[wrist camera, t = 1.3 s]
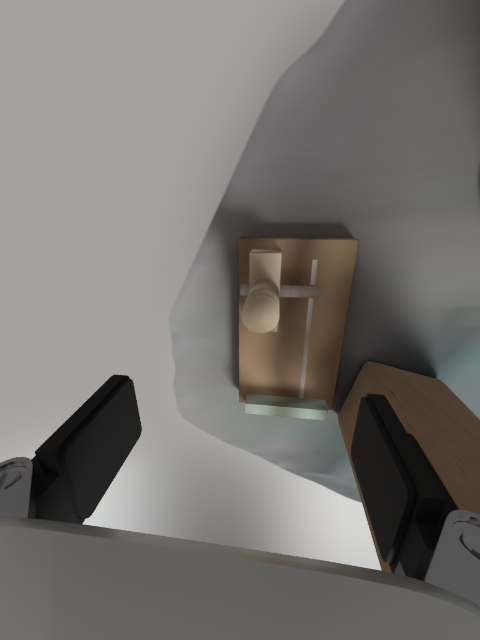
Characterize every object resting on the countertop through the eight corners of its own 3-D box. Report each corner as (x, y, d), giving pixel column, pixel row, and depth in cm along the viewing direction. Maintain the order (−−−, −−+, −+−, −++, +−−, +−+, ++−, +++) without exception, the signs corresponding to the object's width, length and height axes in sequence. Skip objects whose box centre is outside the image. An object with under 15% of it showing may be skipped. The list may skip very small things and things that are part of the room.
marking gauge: (321, 250, 27) (340, 266, 18) (313, 322, 30) (326, 364, 21) (243, 248, 28) (227, 263, 19) (243, 319, 31) (229, 358, 22)
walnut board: (353, 238, 28) (364, 241, 24) (329, 399, 36) (334, 421, 32) (240, 237, 29) (235, 240, 26) (241, 392, 37) (237, 412, 33)
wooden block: (363, 355, 33) (473, 539, 14) (443, 377, 32) (660, 593, 14) (333, 415, 37) (390, 620, 18) (404, 435, 36) (534, 664, 18)
